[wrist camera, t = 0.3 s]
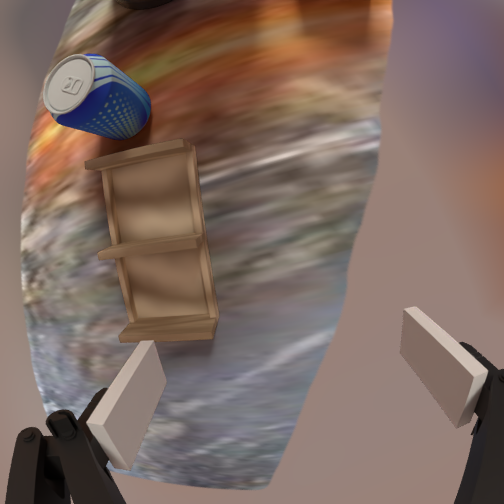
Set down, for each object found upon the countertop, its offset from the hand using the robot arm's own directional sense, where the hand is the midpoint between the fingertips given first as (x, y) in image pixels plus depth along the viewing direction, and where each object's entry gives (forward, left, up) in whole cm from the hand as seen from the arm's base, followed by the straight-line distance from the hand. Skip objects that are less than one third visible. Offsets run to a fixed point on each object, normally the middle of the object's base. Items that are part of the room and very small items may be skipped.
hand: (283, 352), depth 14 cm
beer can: (-22, -17, -27) cm, 39 cm away
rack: (-3, -14, -27) cm, 31 cm away
